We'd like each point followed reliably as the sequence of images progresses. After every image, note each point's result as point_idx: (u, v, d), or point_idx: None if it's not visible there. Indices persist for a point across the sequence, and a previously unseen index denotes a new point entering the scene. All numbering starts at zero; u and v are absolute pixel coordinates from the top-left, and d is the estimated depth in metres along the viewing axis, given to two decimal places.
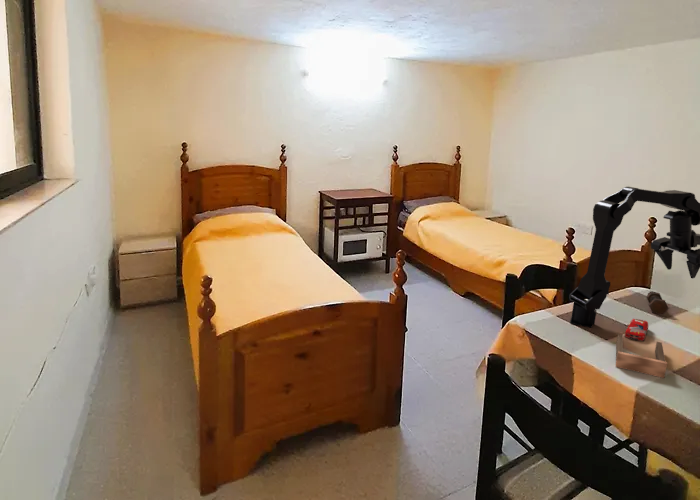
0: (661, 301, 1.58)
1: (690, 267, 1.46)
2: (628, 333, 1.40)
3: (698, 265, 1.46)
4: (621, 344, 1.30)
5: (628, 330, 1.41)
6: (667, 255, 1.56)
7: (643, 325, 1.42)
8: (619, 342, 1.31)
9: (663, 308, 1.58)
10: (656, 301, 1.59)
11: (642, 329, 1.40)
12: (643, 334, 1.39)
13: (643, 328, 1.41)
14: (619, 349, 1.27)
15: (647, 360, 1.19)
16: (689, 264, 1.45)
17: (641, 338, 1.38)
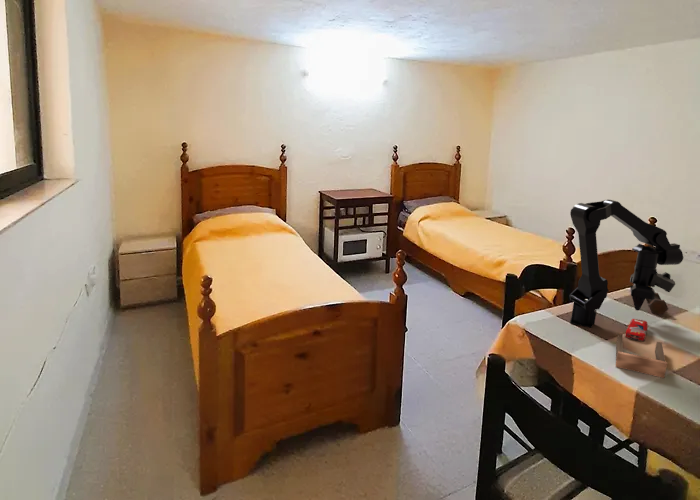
0: (661, 301, 1.58)
1: None
2: (628, 333, 1.40)
3: (642, 298, 1.50)
4: (621, 344, 1.30)
5: (628, 330, 1.41)
6: None
7: (643, 325, 1.42)
8: (619, 342, 1.31)
9: (663, 308, 1.58)
10: (656, 301, 1.59)
11: (642, 329, 1.40)
12: (643, 334, 1.39)
13: (643, 328, 1.41)
14: (619, 349, 1.27)
15: (647, 360, 1.19)
16: None
17: (641, 338, 1.38)
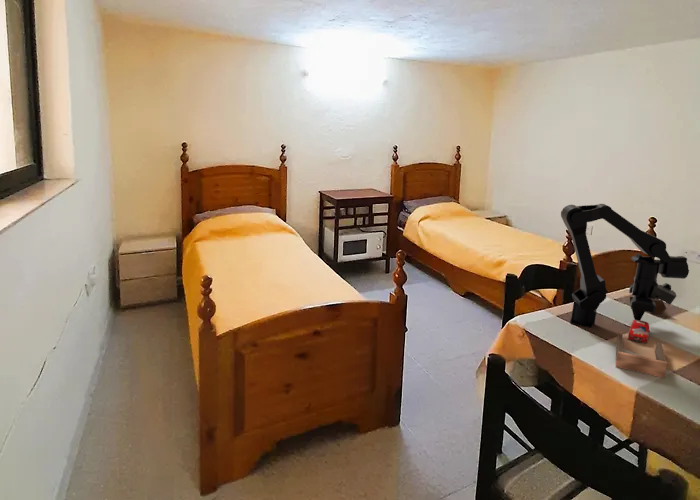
0: (659, 301, 1.58)
1: None
2: (631, 335, 1.38)
3: (642, 310, 1.46)
4: (621, 344, 1.30)
5: (631, 332, 1.39)
6: None
7: (645, 326, 1.40)
8: (619, 342, 1.31)
9: (661, 308, 1.58)
10: (654, 301, 1.59)
11: (645, 331, 1.39)
12: (646, 336, 1.37)
13: (646, 330, 1.39)
14: (619, 349, 1.27)
15: (647, 360, 1.19)
16: (630, 304, 1.46)
17: (645, 340, 1.37)
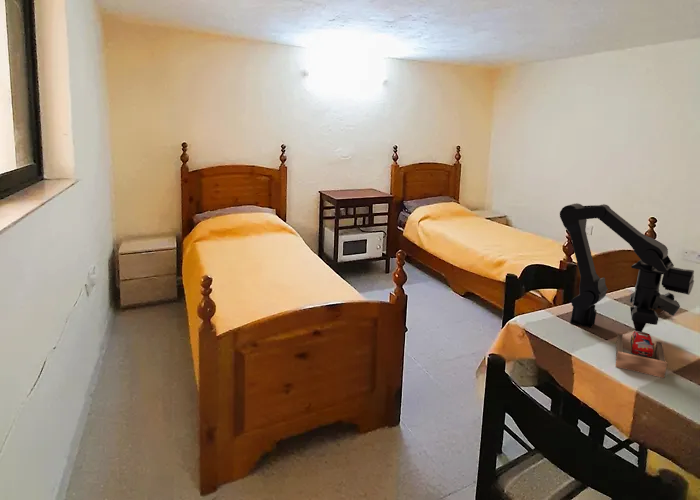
0: None
1: None
2: (636, 349, 1.29)
3: None
4: (621, 344, 1.30)
5: (635, 346, 1.30)
6: None
7: (649, 339, 1.32)
8: (619, 342, 1.31)
9: None
10: None
11: (649, 344, 1.30)
12: (652, 350, 1.28)
13: (650, 343, 1.31)
14: (619, 349, 1.27)
15: (647, 360, 1.19)
16: None
17: (650, 354, 1.28)
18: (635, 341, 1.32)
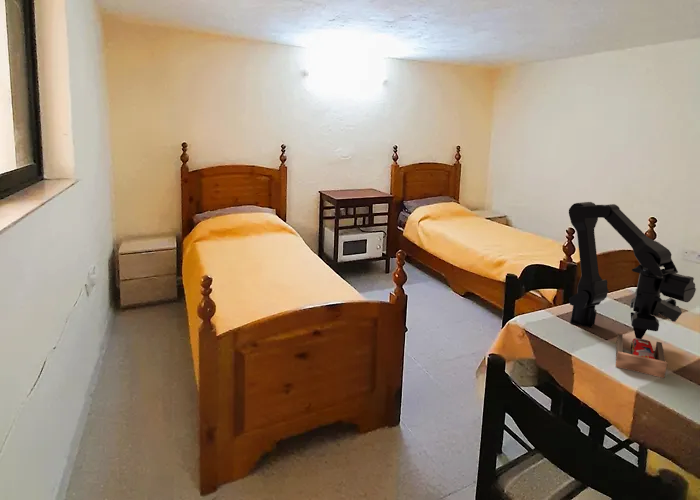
0: None
1: None
2: None
3: None
4: (621, 344, 1.30)
5: (636, 354, 1.26)
6: None
7: (650, 347, 1.27)
8: (619, 342, 1.31)
9: None
10: None
11: (650, 352, 1.26)
12: (653, 358, 1.24)
13: (651, 351, 1.26)
14: (619, 349, 1.27)
15: (647, 360, 1.19)
16: None
17: None
18: (636, 349, 1.28)
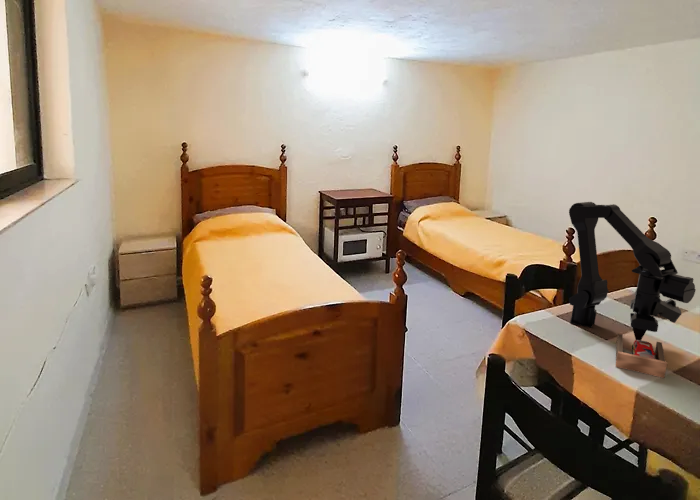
0: None
1: None
2: None
3: None
4: (621, 344, 1.30)
5: None
6: None
7: (651, 349, 1.26)
8: (619, 342, 1.31)
9: None
10: None
11: (651, 354, 1.25)
12: None
13: (652, 353, 1.25)
14: (619, 349, 1.27)
15: (647, 360, 1.19)
16: None
17: None
18: (636, 351, 1.27)
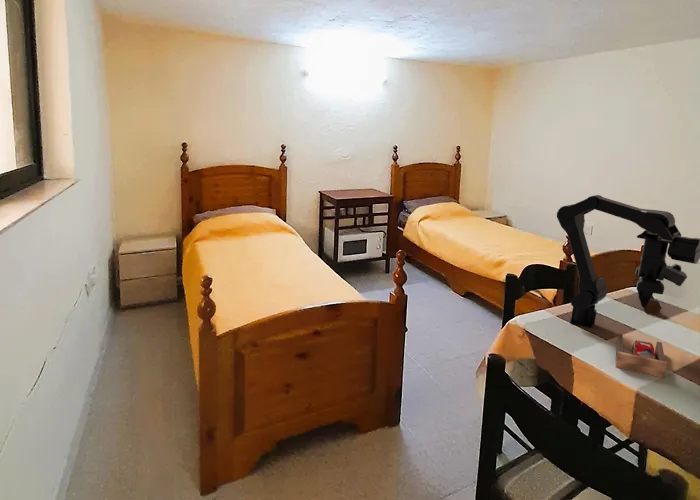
0: (654, 301, 1.58)
1: None
2: None
3: (649, 293, 1.33)
4: (621, 344, 1.30)
5: None
6: None
7: (651, 349, 1.26)
8: (619, 342, 1.31)
9: (656, 308, 1.58)
10: (649, 301, 1.59)
11: (651, 354, 1.25)
12: None
13: (652, 353, 1.25)
14: (619, 349, 1.27)
15: (647, 360, 1.19)
16: None
17: None
18: (637, 351, 1.27)
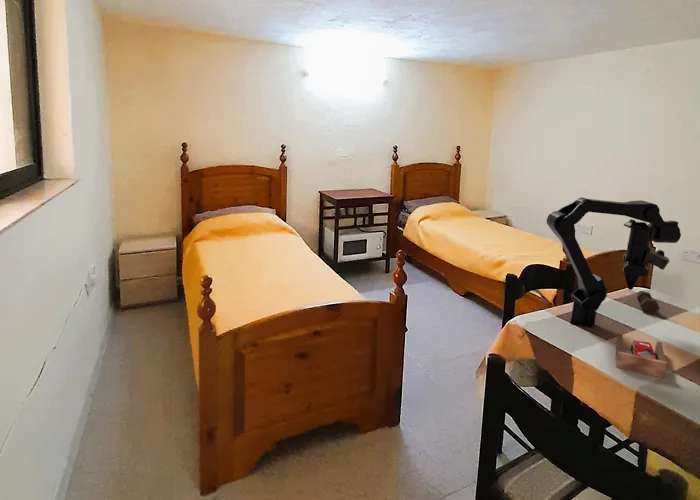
0: (652, 301, 1.58)
1: None
2: None
3: (635, 277, 1.45)
4: (621, 344, 1.30)
5: None
6: None
7: (651, 349, 1.26)
8: (619, 342, 1.31)
9: (654, 308, 1.58)
10: (647, 301, 1.59)
11: (651, 354, 1.25)
12: None
13: (652, 353, 1.25)
14: (619, 349, 1.27)
15: (647, 360, 1.19)
16: None
17: None
18: (637, 351, 1.27)
